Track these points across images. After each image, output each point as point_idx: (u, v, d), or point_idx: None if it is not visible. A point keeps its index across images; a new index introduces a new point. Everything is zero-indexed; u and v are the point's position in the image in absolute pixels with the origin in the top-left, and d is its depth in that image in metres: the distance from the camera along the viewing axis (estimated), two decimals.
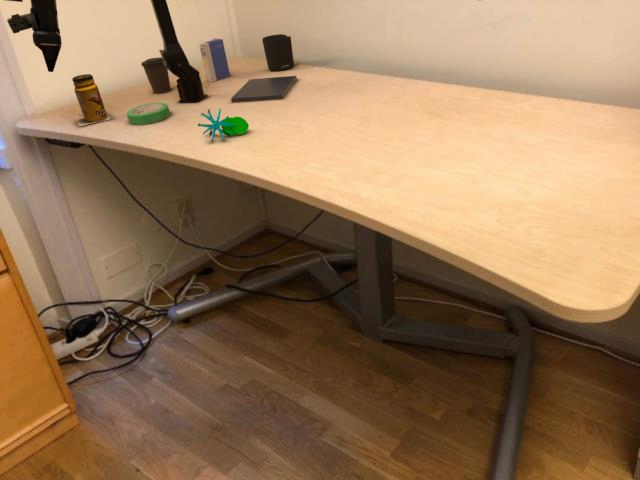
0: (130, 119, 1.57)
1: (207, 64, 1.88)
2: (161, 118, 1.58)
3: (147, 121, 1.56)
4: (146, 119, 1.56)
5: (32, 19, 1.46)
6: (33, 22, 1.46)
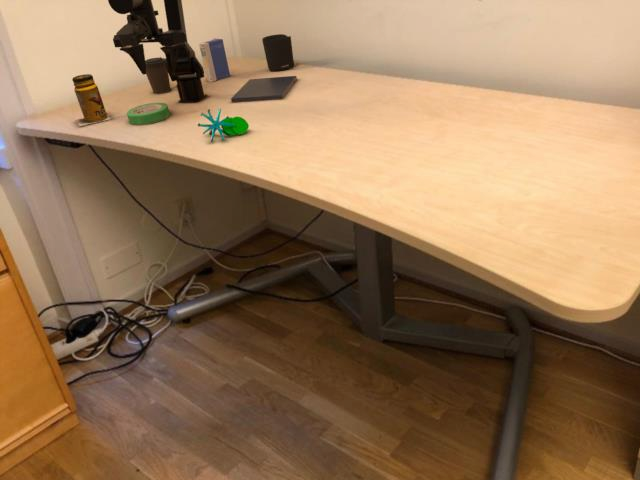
0: (130, 119, 1.57)
1: (207, 64, 1.88)
2: (161, 118, 1.58)
3: (147, 121, 1.56)
4: (146, 119, 1.56)
5: (146, 25, 1.41)
6: (148, 28, 1.41)
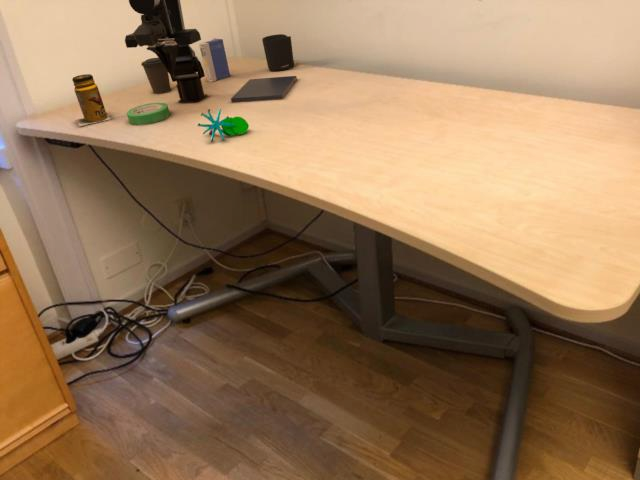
0: (130, 119, 1.57)
1: (207, 64, 1.88)
2: (161, 118, 1.58)
3: (147, 121, 1.56)
4: (146, 119, 1.56)
5: (162, 25, 1.42)
6: (163, 27, 1.43)
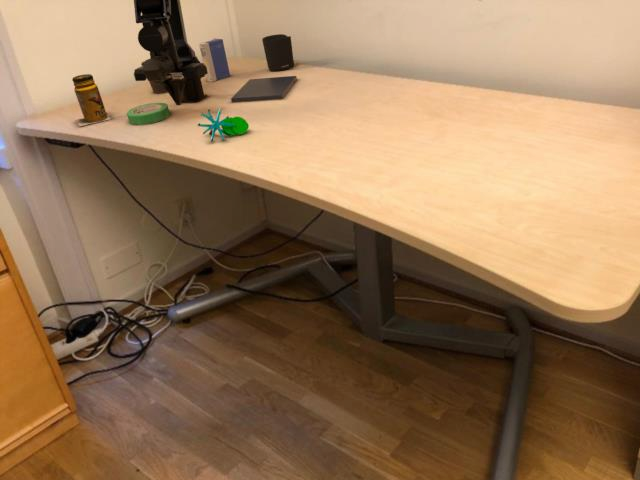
0: (130, 119, 1.57)
1: (207, 64, 1.88)
2: (161, 118, 1.58)
3: (147, 121, 1.56)
4: (146, 119, 1.56)
5: (170, 60, 1.47)
6: (171, 62, 1.47)
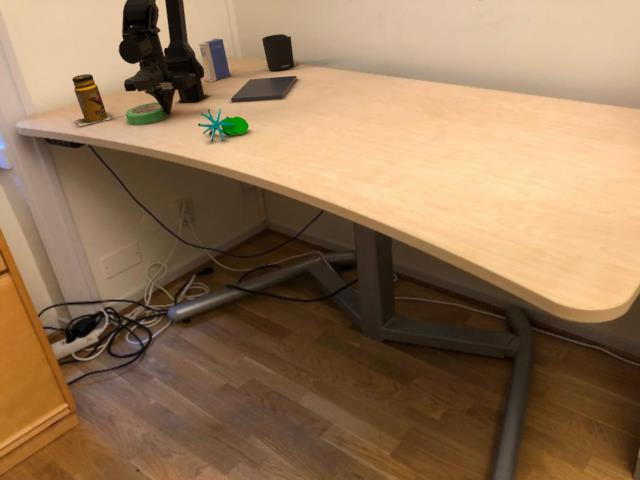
0: (129, 119, 1.57)
1: (207, 64, 1.88)
2: (160, 118, 1.58)
3: (146, 121, 1.56)
4: (145, 119, 1.56)
5: (159, 71, 1.49)
6: (160, 73, 1.50)
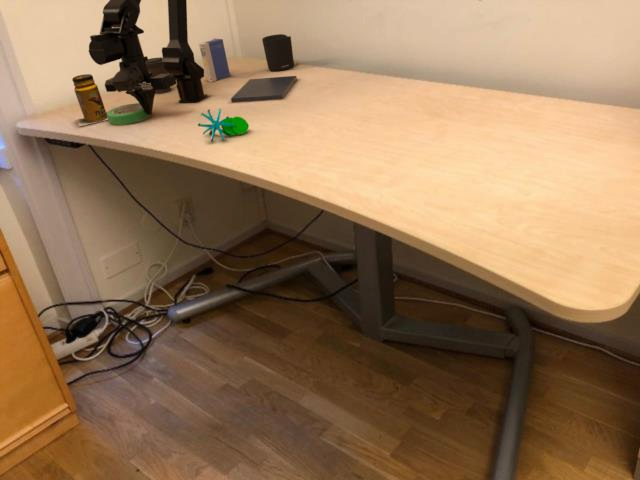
0: (110, 120, 1.59)
1: (207, 64, 1.88)
2: (141, 118, 1.59)
3: (127, 121, 1.58)
4: (126, 120, 1.57)
5: (139, 71, 1.51)
6: (140, 73, 1.51)
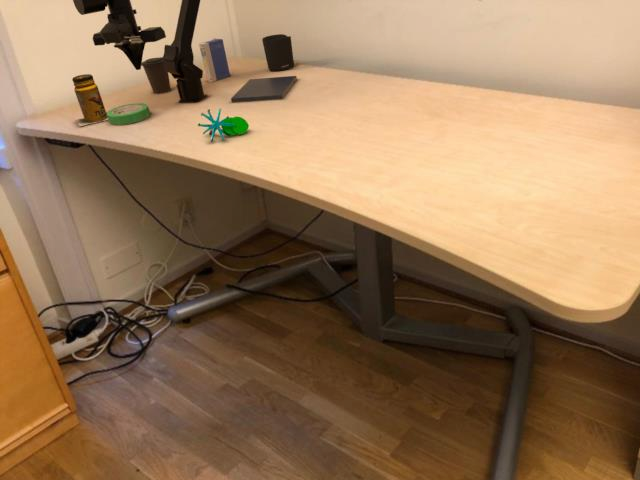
0: (110, 120, 1.59)
1: (207, 64, 1.88)
2: (141, 118, 1.59)
3: (127, 121, 1.58)
4: (126, 120, 1.57)
5: (127, 23, 1.50)
6: (129, 26, 1.50)
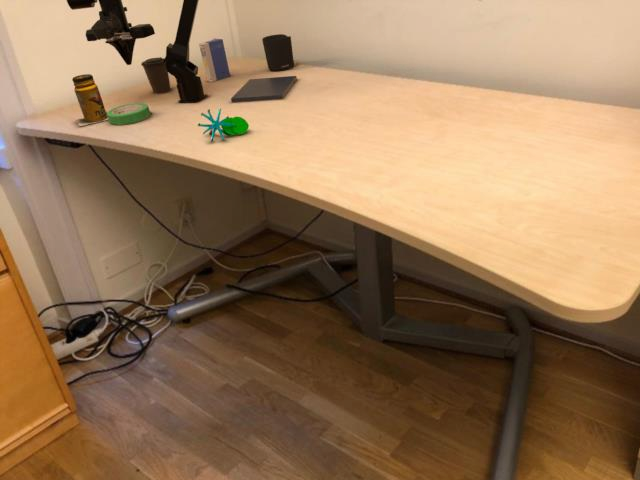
0: (110, 120, 1.59)
1: (207, 64, 1.88)
2: (141, 118, 1.59)
3: (127, 121, 1.58)
4: (126, 119, 1.57)
5: (118, 20, 1.57)
6: (119, 22, 1.57)
